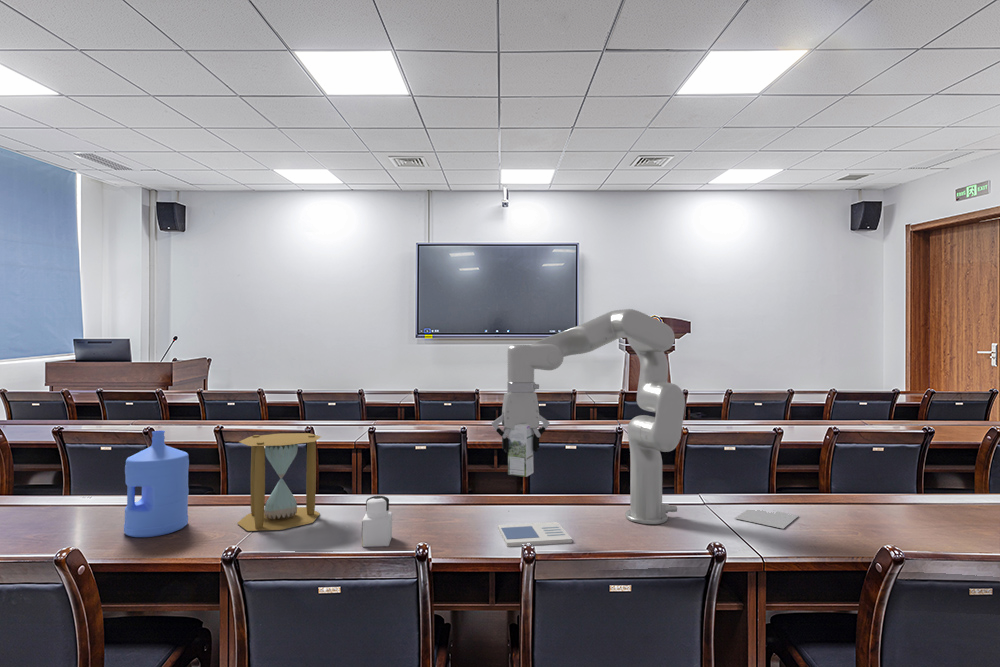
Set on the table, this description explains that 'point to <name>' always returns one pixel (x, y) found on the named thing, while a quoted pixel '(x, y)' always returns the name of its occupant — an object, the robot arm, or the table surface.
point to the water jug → (157, 490)
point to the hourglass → (281, 501)
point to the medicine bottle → (377, 523)
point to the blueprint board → (534, 534)
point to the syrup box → (520, 451)
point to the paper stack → (767, 518)
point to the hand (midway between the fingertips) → (520, 451)
